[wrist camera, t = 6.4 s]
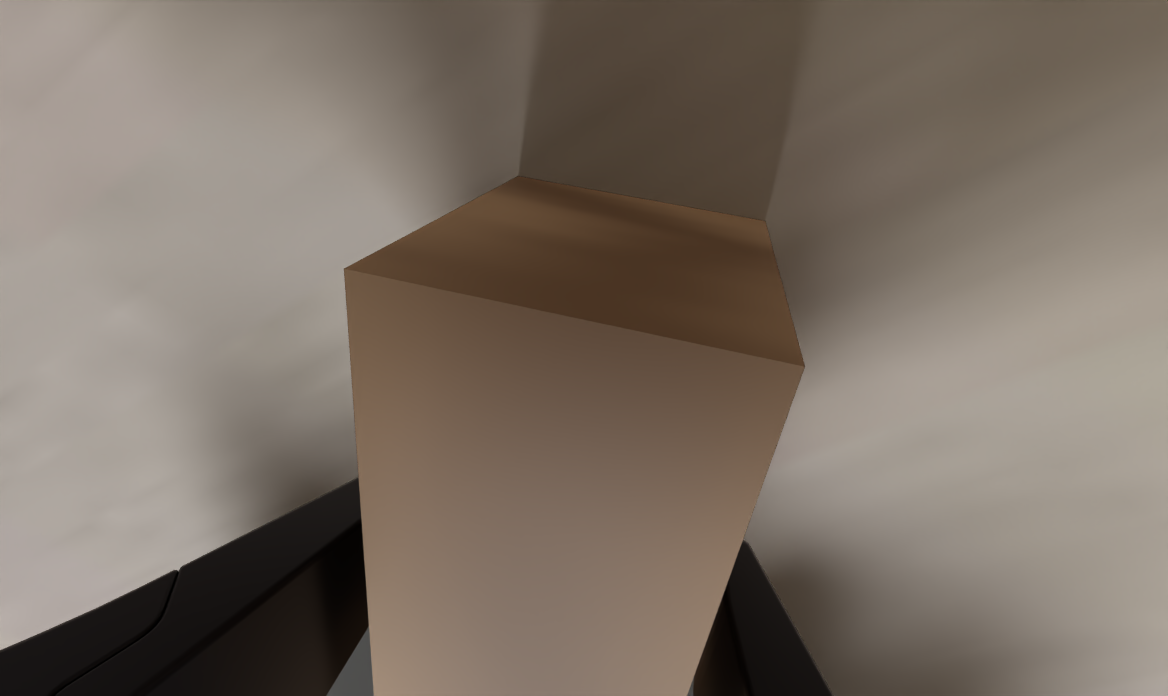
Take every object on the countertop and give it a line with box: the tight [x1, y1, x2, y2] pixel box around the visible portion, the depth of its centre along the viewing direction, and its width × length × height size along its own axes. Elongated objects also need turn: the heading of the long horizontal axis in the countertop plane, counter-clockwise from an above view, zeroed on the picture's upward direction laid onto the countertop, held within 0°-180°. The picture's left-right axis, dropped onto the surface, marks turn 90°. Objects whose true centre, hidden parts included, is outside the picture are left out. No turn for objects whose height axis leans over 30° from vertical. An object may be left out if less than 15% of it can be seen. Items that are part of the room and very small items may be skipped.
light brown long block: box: [344, 176, 805, 696], centre depth 10 cm, size 4×14×5 cm, turn 173°
